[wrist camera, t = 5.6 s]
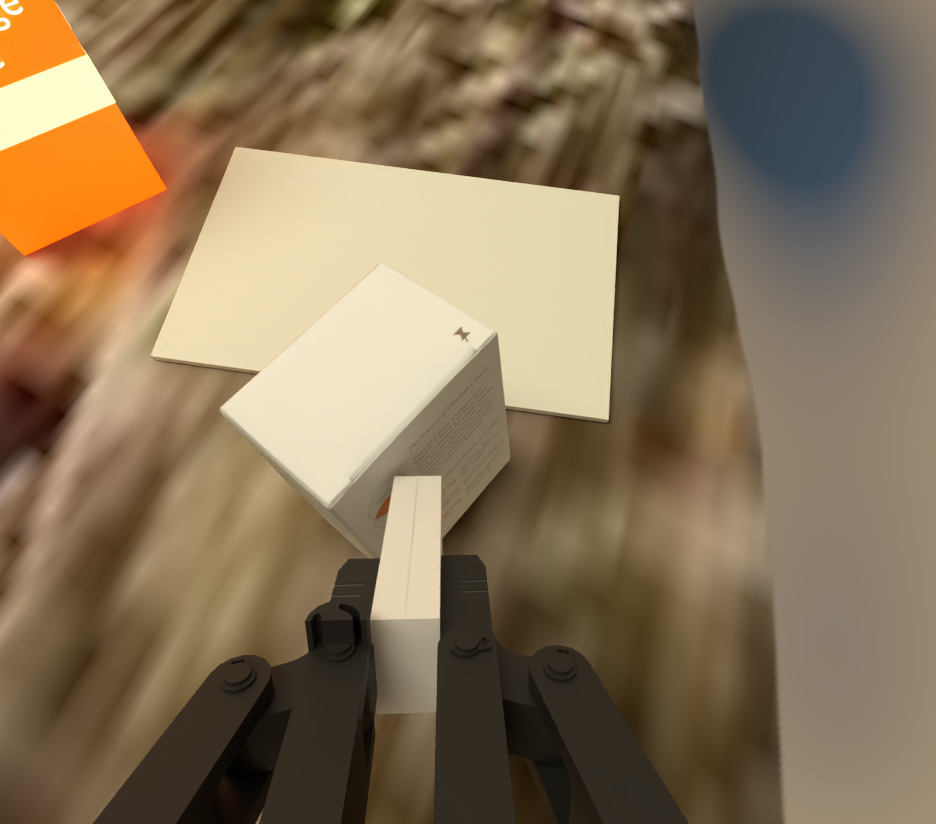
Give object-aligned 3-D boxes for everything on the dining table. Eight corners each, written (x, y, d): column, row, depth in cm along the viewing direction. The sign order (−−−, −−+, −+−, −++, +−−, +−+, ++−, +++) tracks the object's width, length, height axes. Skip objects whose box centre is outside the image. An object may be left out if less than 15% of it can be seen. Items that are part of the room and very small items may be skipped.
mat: (154, 359, 31) (150, 355, 30) (237, 152, 37) (235, 146, 36) (606, 422, 30) (608, 419, 30) (617, 200, 36) (619, 195, 36)
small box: (429, 400, 30) (383, 253, 21) (514, 460, 28) (503, 326, 19) (317, 516, 28) (210, 405, 19) (401, 591, 26) (325, 509, 17)
